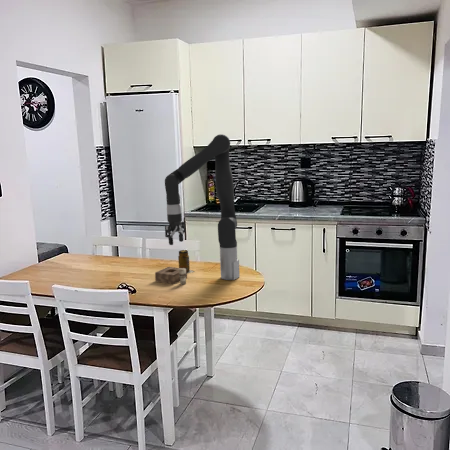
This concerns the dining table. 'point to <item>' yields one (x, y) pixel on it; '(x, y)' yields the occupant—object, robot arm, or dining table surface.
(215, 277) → the dining table surface
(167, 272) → the socket block
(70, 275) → the dining table surface
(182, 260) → the condiment
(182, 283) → the peg
